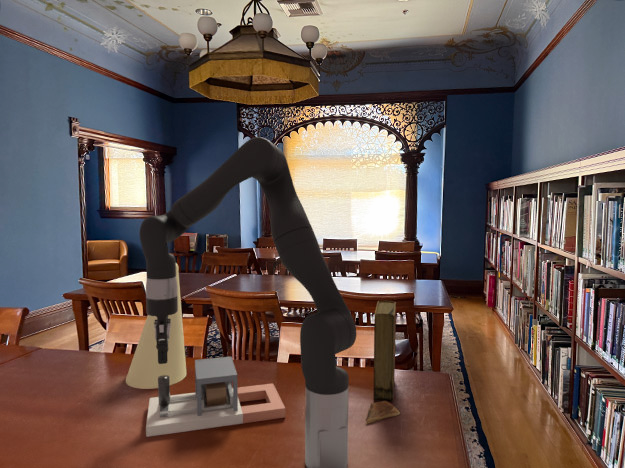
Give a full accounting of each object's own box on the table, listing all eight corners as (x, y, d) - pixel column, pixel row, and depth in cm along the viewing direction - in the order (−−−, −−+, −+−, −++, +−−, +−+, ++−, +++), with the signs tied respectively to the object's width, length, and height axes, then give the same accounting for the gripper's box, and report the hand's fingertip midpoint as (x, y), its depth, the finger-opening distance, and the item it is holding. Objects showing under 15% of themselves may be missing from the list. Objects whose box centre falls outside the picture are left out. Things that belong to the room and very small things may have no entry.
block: (226, 405, 119) (226, 387, 118) (206, 408, 117) (206, 389, 117) (224, 397, 123) (224, 379, 123) (205, 399, 122) (205, 382, 121)
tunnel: (237, 410, 116) (237, 374, 115) (197, 416, 113) (196, 379, 112) (231, 388, 129) (231, 356, 128) (195, 393, 126) (194, 360, 125)
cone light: (171, 390, 134) (168, 273, 130) (113, 387, 136) (109, 271, 133) (202, 360, 158) (200, 260, 155) (152, 357, 160) (149, 259, 157)
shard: (365, 426, 114) (365, 419, 114) (350, 412, 121) (350, 406, 121) (400, 417, 119) (400, 410, 119) (383, 404, 126) (383, 398, 126)
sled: (234, 407, 117) (233, 376, 116) (158, 417, 112) (157, 384, 111) (230, 392, 126) (230, 364, 125) (159, 401, 120) (158, 371, 120)
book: (376, 378, 143) (377, 300, 141) (394, 379, 142) (395, 301, 140) (373, 401, 127) (374, 313, 125) (393, 403, 126) (394, 314, 124)
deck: (285, 417, 118) (285, 408, 117) (146, 436, 108) (145, 426, 108) (273, 391, 133) (272, 383, 133) (150, 406, 123) (149, 397, 123)
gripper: (177, 300, 108) (178, 366, 110) (177, 288, 122) (178, 346, 123) (143, 302, 106) (145, 369, 108) (147, 289, 120) (149, 349, 121)
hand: (163, 357), depth 115 cm, fingers open, 8 cm apart
